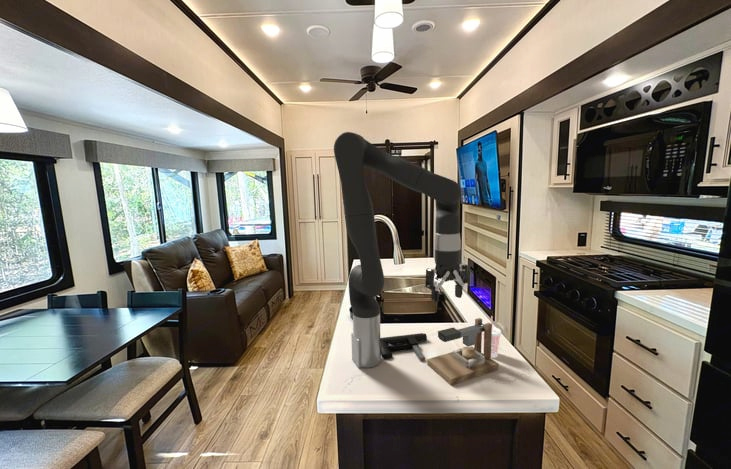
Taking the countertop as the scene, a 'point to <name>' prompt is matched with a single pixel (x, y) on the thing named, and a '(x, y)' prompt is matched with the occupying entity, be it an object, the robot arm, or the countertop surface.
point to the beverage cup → (494, 340)
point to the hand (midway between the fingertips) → (447, 299)
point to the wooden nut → (468, 353)
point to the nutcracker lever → (461, 334)
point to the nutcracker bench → (462, 369)
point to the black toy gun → (411, 344)
